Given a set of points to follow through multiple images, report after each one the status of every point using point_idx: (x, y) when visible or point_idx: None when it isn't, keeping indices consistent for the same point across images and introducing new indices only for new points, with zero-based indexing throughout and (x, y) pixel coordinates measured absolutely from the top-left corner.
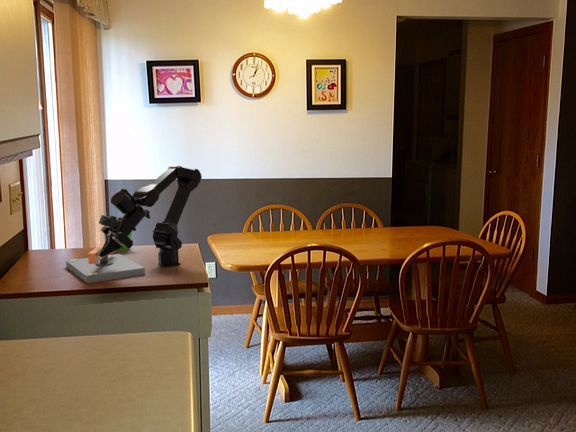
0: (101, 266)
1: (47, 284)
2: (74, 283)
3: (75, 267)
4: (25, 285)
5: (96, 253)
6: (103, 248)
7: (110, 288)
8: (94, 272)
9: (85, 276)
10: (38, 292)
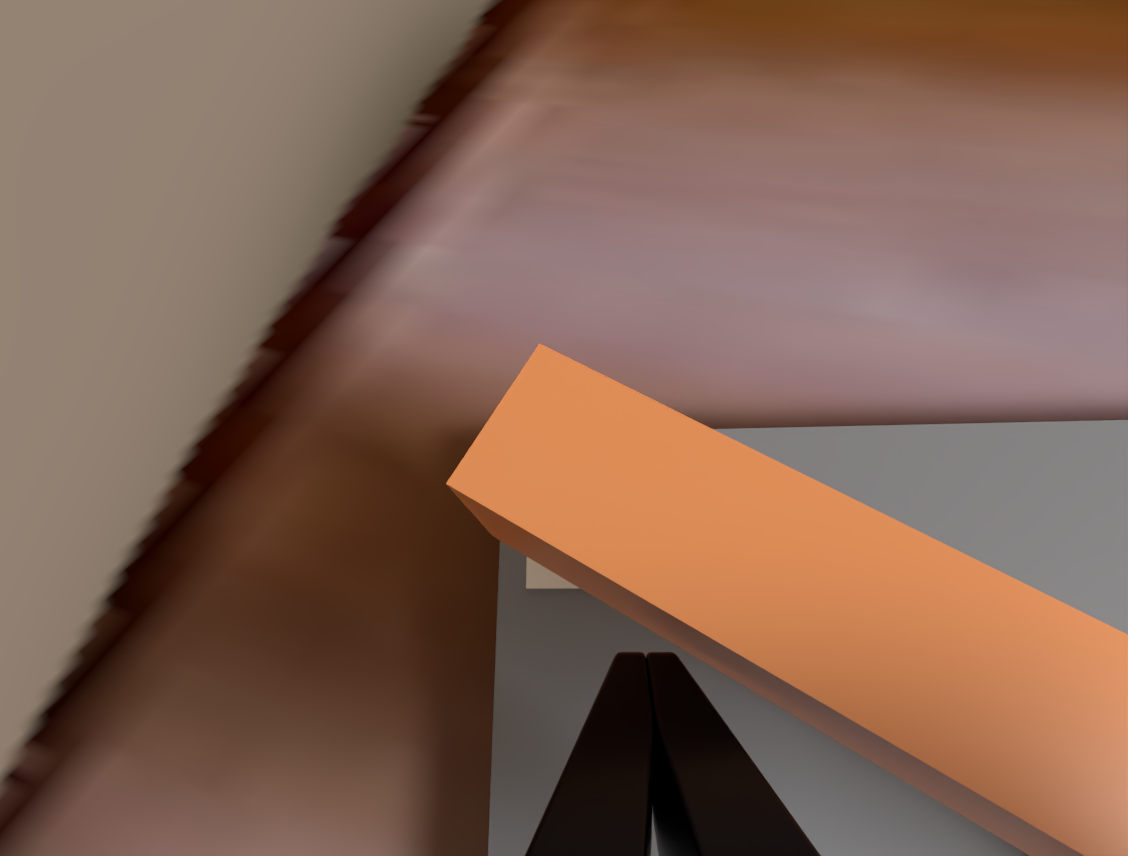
0: None
1: (694, 163)
2: (587, 356)
3: (1096, 426)
4: (756, 37)
5: (544, 543)
6: (641, 803)
7: (128, 618)
8: None
9: None
10: (468, 86)
